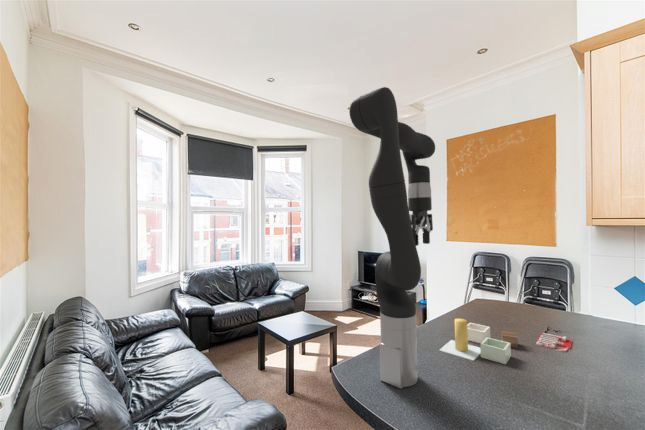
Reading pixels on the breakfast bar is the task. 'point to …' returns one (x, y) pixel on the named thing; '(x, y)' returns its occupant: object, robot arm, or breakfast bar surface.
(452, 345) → the thin white panel
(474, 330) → the pot white
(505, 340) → the walnut block
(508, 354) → the pot green
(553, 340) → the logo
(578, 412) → the breakfast bar surface
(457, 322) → the peg
